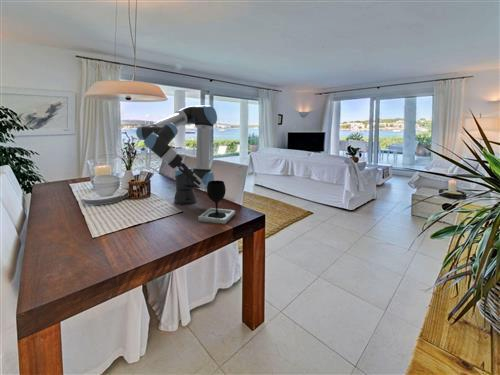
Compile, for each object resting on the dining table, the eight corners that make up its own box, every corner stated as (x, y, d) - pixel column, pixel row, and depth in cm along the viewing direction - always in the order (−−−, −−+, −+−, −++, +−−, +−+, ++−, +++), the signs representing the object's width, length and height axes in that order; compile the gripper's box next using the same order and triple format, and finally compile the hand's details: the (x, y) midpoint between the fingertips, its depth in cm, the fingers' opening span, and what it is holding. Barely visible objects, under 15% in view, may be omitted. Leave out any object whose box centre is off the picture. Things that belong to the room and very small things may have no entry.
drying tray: (210, 211, 153) (210, 207, 153) (234, 214, 149) (234, 210, 148) (198, 220, 138) (198, 216, 138) (225, 224, 134) (225, 219, 133)
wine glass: (227, 213, 148) (227, 180, 143) (224, 219, 138) (223, 184, 133) (210, 212, 149) (209, 179, 144) (205, 218, 139) (204, 184, 134)
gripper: (166, 160, 139) (195, 184, 147) (167, 167, 116) (201, 196, 124) (176, 150, 139) (203, 175, 148) (178, 156, 116) (211, 185, 125)
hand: (202, 185), depth 136 cm, fingers open, 13 cm apart
